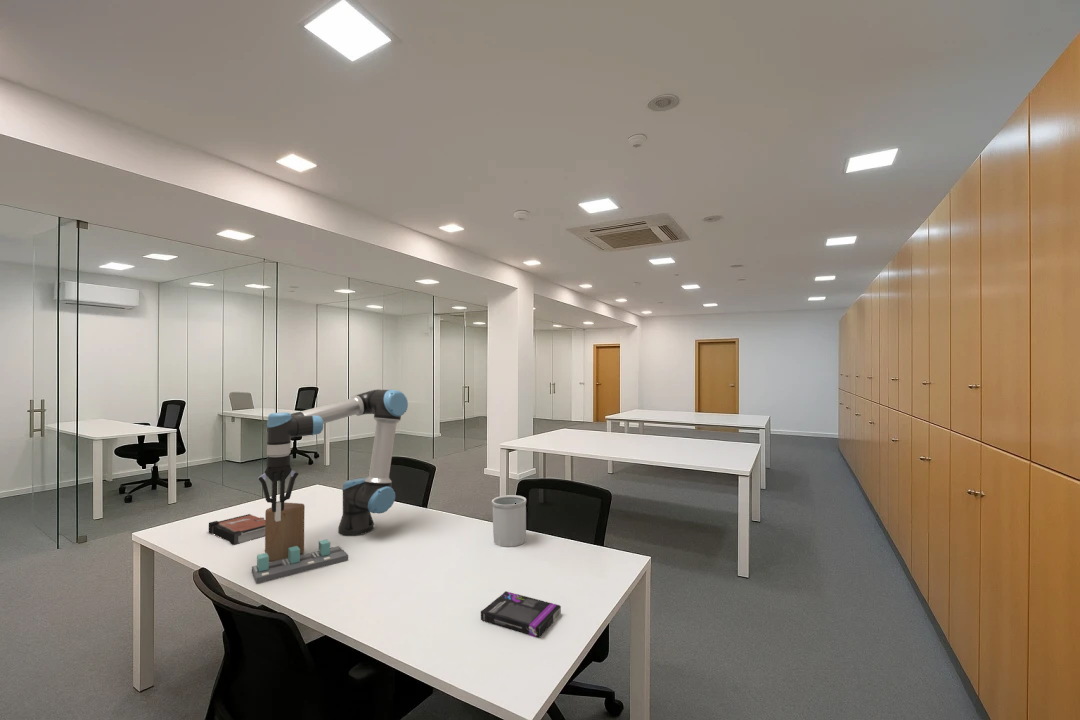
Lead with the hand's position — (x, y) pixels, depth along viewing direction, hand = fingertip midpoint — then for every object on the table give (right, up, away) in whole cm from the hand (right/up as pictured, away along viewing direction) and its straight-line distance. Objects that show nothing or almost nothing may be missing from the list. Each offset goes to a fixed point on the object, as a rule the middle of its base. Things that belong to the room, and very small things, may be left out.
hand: (277, 520), depth 163 cm
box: (+90, -18, -32) cm, 97 cm away
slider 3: (+12, -16, +10) cm, 23 cm away
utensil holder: (+83, -19, +28) cm, 89 cm away
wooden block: (-4, -19, +11) cm, 22 cm away
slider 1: (-3, -16, -3) cm, 17 cm away
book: (-39, -20, +39) cm, 58 cm away
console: (+7, -18, +4) cm, 20 cm away
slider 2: (+4, -16, +3) cm, 17 cm away
